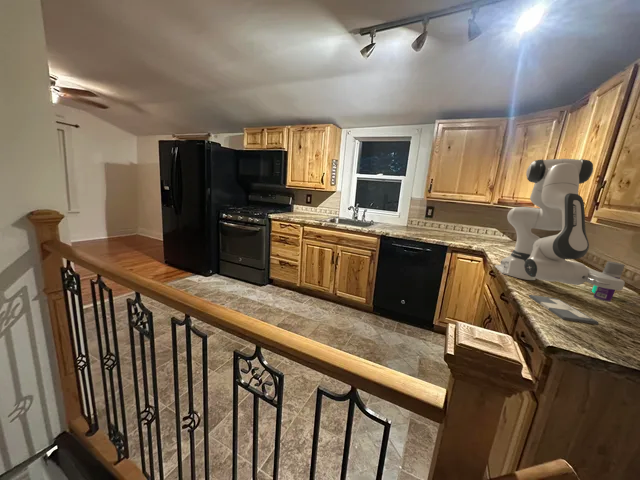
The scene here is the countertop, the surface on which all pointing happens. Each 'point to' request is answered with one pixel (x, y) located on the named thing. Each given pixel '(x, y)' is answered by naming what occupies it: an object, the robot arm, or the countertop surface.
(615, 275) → the container
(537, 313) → the countertop surface
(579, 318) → the letter board
